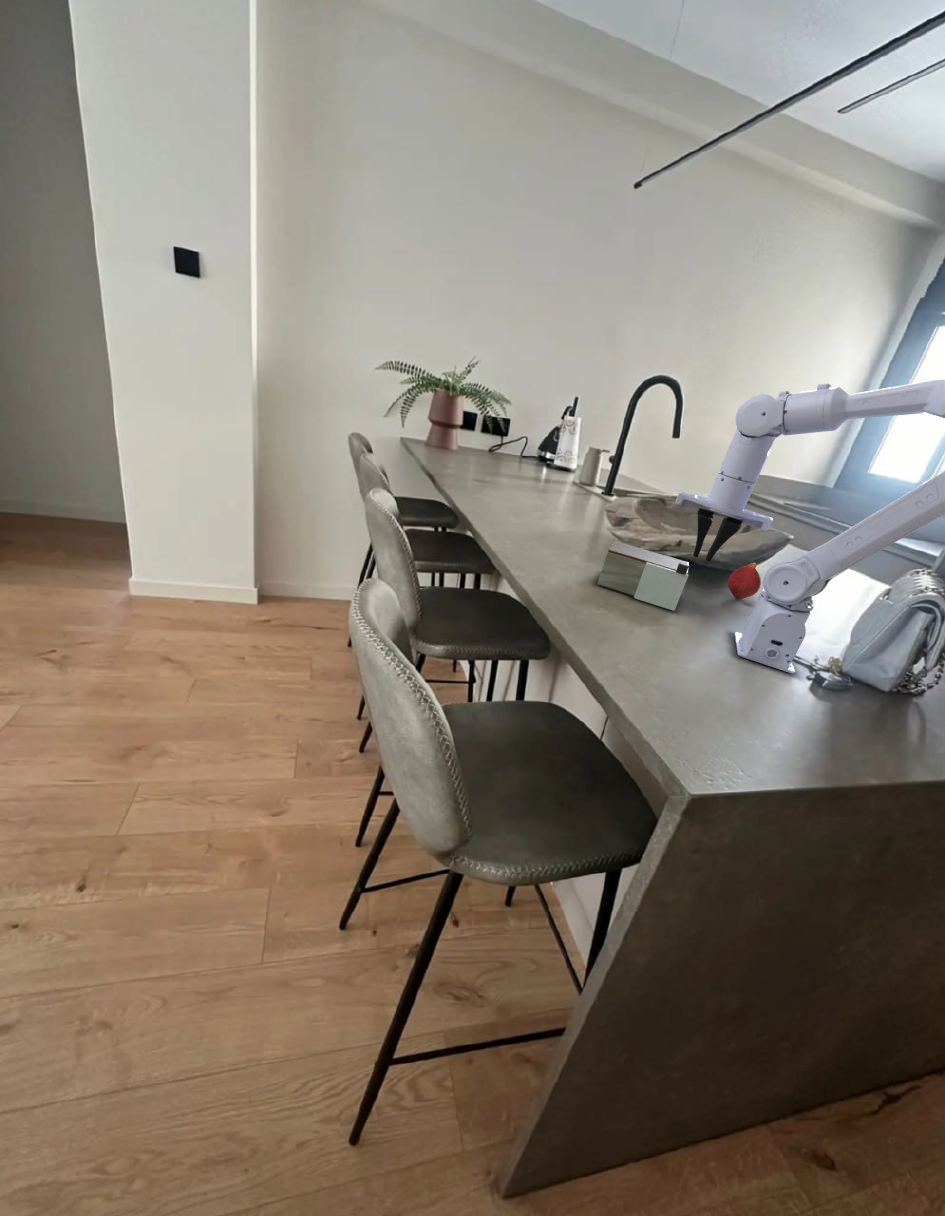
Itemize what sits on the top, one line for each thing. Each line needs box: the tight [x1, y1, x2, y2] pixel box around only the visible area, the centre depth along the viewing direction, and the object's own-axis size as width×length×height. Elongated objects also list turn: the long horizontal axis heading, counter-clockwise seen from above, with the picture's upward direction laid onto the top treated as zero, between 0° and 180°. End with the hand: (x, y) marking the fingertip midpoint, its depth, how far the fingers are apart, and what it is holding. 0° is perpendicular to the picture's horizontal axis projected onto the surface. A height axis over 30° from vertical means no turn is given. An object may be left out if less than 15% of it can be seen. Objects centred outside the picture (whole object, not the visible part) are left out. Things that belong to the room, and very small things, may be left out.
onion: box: [727, 562, 762, 601], centre depth 105 cm, size 6×6×8 cm
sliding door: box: [633, 562, 690, 612], centre depth 91 cm, size 1×7×8 cm, turn 68°
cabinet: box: [596, 540, 689, 598], centre depth 97 cm, size 8×14×7 cm, turn 68°
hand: (701, 557), depth 88 cm, fingers closed
